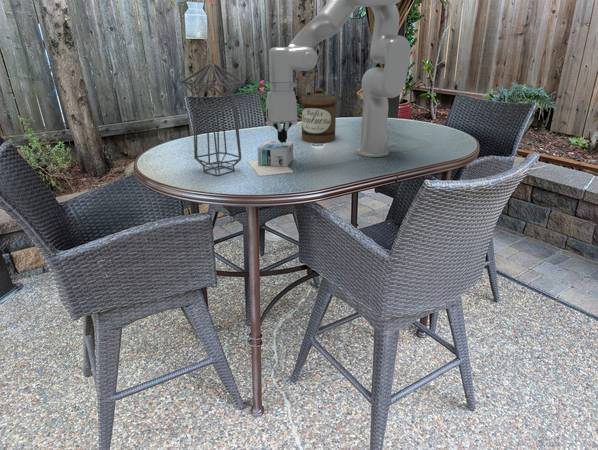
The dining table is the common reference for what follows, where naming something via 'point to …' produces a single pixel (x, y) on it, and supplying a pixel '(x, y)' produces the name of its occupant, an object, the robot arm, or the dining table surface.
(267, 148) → the light bulb box
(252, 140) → the dining table surface
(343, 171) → the dining table surface
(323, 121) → the wooden container
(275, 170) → the mat
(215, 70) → the geometric lantern
